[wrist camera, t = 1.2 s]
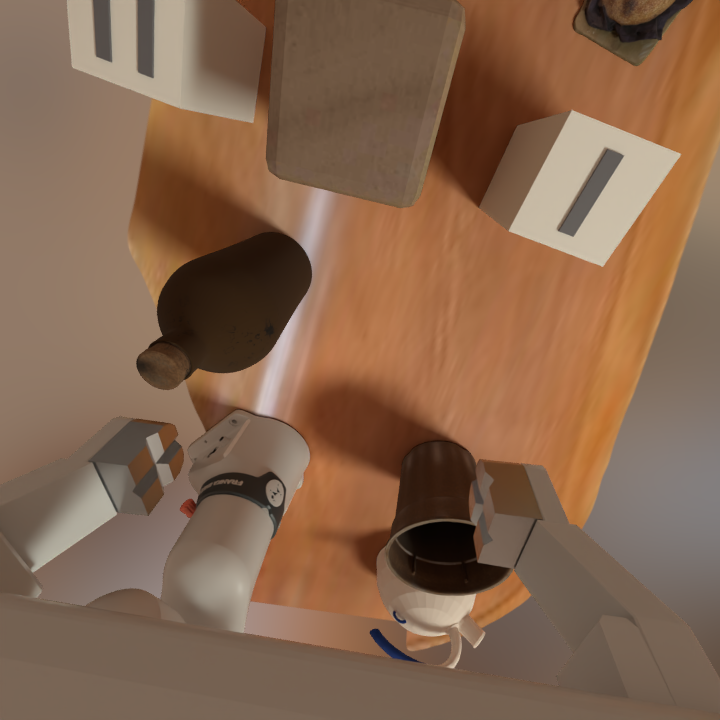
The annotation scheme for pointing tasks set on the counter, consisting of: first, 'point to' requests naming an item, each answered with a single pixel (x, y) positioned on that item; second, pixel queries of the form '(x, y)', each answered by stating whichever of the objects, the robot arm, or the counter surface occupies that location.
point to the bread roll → (627, 25)
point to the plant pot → (438, 525)
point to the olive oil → (226, 309)
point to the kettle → (425, 614)
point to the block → (360, 93)
